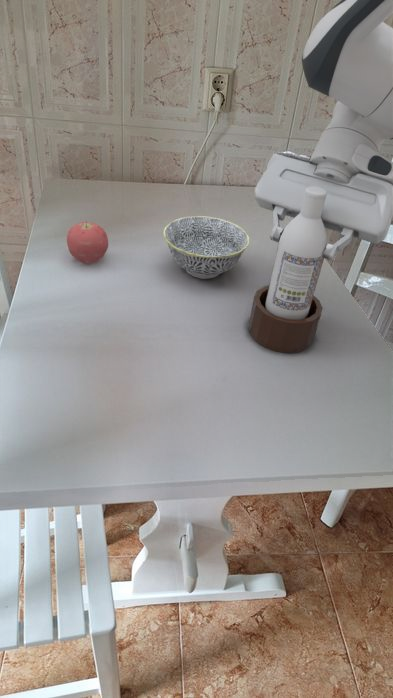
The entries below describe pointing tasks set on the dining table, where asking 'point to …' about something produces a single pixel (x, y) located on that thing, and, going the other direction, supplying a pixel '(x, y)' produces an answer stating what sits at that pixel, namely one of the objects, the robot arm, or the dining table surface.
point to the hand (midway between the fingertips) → (300, 249)
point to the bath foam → (299, 259)
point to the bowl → (205, 244)
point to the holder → (282, 326)
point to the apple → (87, 242)
